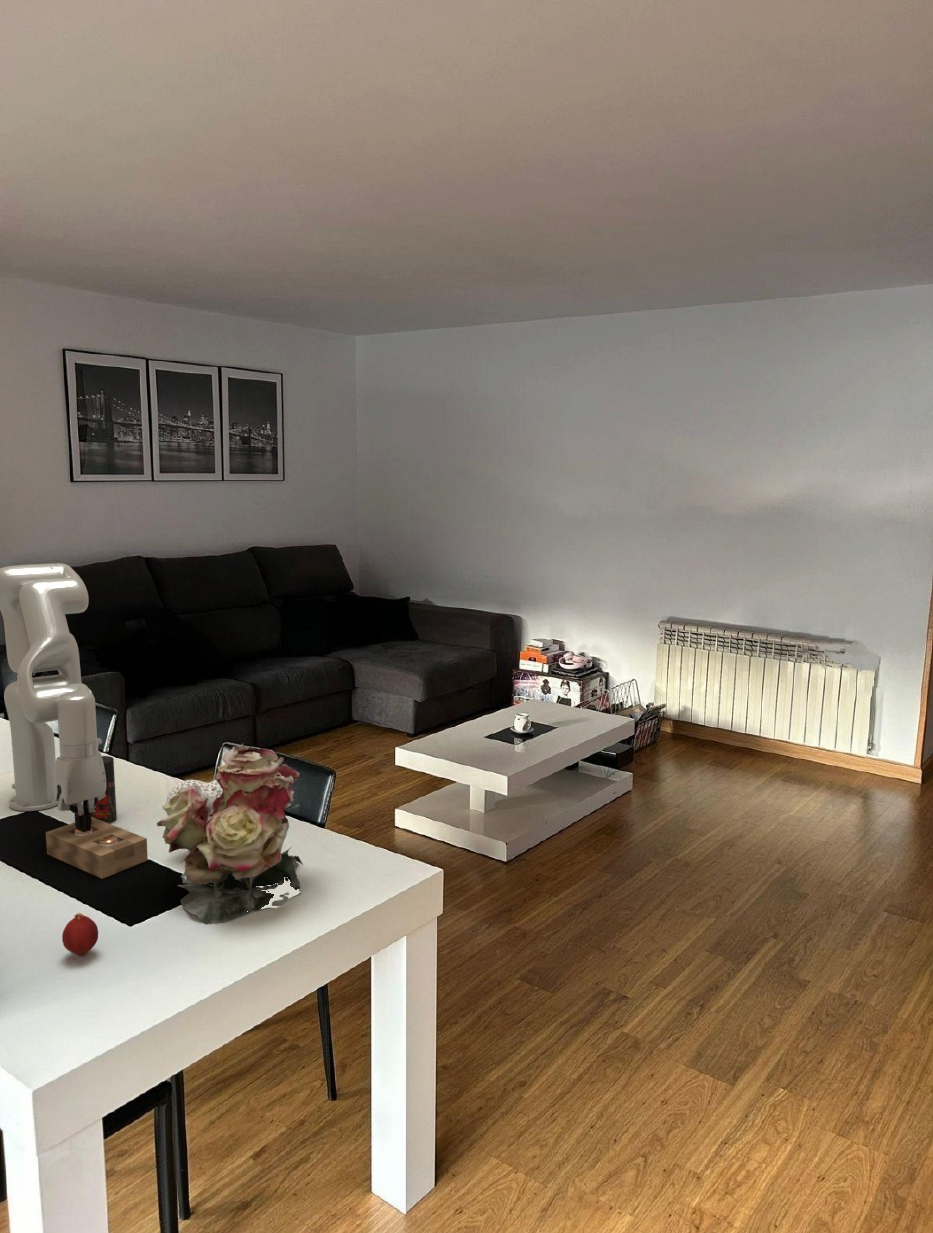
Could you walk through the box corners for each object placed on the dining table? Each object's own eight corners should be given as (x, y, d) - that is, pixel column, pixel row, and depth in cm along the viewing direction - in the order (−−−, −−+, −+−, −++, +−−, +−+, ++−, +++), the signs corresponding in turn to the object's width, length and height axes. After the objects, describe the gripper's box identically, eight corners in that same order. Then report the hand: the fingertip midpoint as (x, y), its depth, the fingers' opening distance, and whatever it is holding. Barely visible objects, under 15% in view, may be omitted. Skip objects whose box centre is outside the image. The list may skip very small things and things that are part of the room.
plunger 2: (97, 861, 196) (95, 840, 195) (111, 855, 199) (110, 834, 198) (107, 865, 194) (106, 844, 193) (122, 859, 197) (121, 838, 196)
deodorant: (121, 816, 222) (118, 756, 219) (109, 825, 216) (106, 764, 213) (97, 814, 222) (94, 755, 220) (85, 824, 217) (81, 763, 214)
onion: (70, 946, 163) (67, 904, 162) (103, 945, 164) (101, 903, 162) (58, 964, 157) (55, 921, 156) (93, 963, 158) (90, 920, 156)
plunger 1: (72, 850, 201) (71, 830, 200) (87, 845, 204) (86, 824, 203) (82, 855, 199) (80, 834, 198) (97, 849, 202) (95, 828, 201)
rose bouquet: (156, 878, 190) (149, 738, 185) (295, 855, 202) (293, 723, 196) (169, 937, 167) (162, 779, 162) (326, 908, 178) (324, 760, 173)
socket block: (47, 854, 200) (45, 832, 199) (92, 837, 209) (91, 816, 208) (102, 878, 189) (100, 855, 188) (147, 860, 198) (146, 838, 197)
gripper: (99, 737, 206) (104, 815, 209) (36, 754, 194) (41, 836, 197) (120, 743, 202) (124, 823, 205) (56, 761, 189) (61, 845, 193)
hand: (83, 829), depth 201 cm, fingers closed
